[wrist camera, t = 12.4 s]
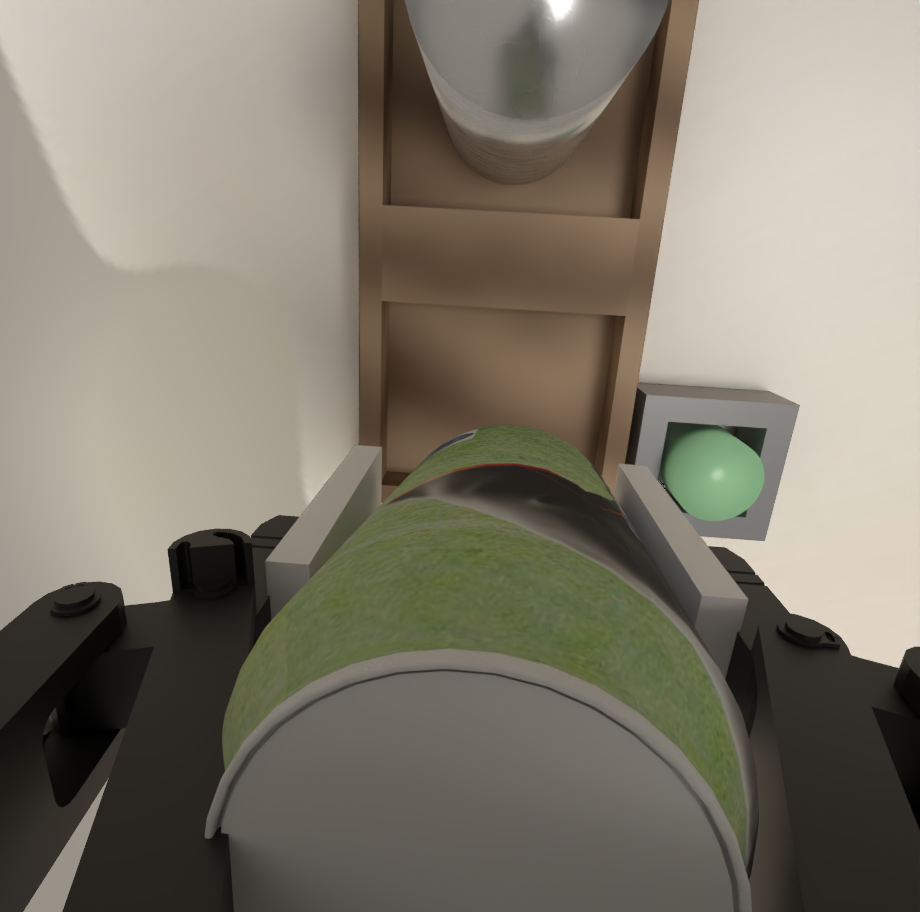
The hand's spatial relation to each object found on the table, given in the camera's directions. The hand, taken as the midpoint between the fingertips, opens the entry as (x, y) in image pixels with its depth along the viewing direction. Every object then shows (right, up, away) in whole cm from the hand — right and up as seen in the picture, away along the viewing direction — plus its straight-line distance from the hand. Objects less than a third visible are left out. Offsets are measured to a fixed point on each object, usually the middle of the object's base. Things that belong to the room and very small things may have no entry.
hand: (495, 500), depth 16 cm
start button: (+11, +2, +15) cm, 19 cm away
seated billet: (+2, +17, +8) cm, 19 cm away
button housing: (+11, +1, +14) cm, 18 cm away
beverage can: (0, 0, +1) cm, 1 cm away
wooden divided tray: (+1, +11, +12) cm, 16 cm away
